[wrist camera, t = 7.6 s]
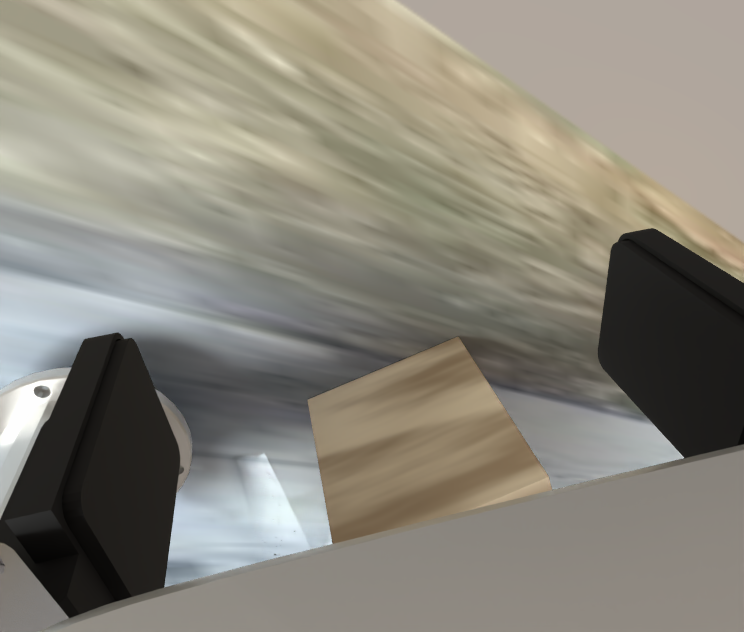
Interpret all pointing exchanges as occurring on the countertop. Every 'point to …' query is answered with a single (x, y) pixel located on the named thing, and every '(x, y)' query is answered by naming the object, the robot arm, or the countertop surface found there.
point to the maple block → (418, 445)
